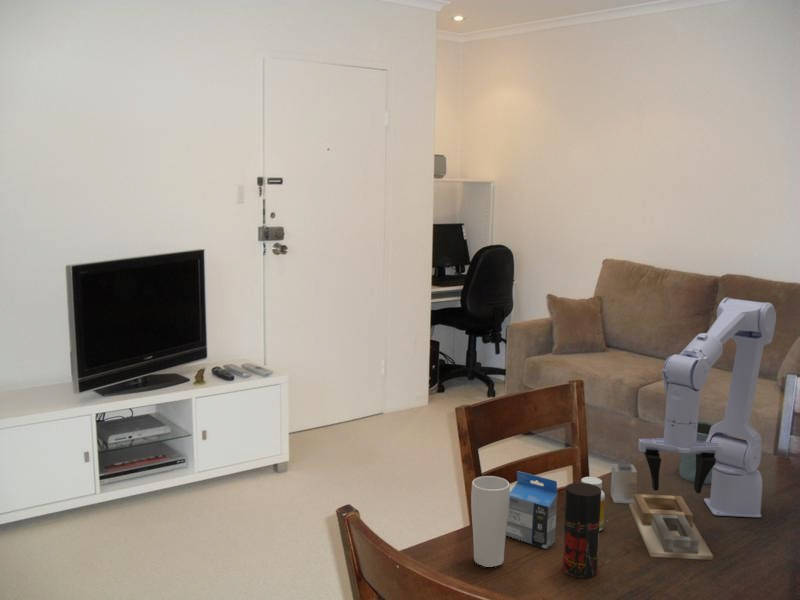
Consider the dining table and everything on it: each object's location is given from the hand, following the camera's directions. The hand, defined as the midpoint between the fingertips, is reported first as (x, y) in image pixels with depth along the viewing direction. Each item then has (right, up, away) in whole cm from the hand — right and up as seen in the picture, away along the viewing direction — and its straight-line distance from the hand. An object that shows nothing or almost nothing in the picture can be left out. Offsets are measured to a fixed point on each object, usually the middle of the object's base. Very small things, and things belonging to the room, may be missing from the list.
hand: (676, 489), depth 151 cm
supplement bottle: (-14, -10, +8) cm, 19 cm away
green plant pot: (+18, -6, +35) cm, 40 cm away
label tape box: (-27, -10, +3) cm, 29 cm away
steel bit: (-4, -7, +22) cm, 24 cm away
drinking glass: (-36, -12, -6) cm, 38 cm away
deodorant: (-20, -12, -9) cm, 25 cm away
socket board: (+1, -10, +6) cm, 12 cm away
